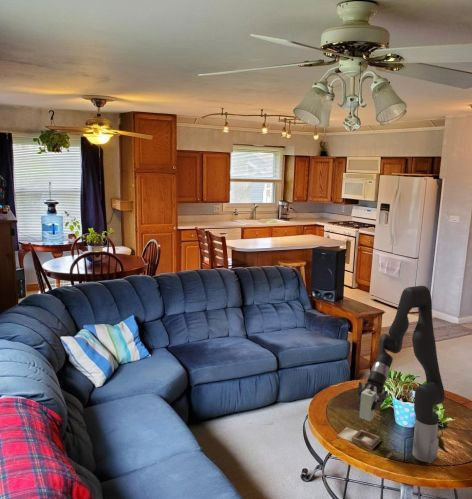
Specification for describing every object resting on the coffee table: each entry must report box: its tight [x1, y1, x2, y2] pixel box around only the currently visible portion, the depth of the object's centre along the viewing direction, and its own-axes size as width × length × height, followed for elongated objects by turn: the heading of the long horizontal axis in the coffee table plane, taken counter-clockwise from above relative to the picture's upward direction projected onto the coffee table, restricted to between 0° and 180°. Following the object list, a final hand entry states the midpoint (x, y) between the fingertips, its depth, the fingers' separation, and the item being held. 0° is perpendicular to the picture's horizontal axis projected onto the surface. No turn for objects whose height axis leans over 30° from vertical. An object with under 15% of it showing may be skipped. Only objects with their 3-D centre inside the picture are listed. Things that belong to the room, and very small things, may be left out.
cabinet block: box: [358, 388, 376, 422], centre depth 204 cm, size 5×5×13 cm
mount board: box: [337, 426, 381, 451], centre depth 209 cm, size 17×10×3 cm, turn 50°
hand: (366, 407), depth 203 cm, fingers closed on cabinet block, 5 cm apart
